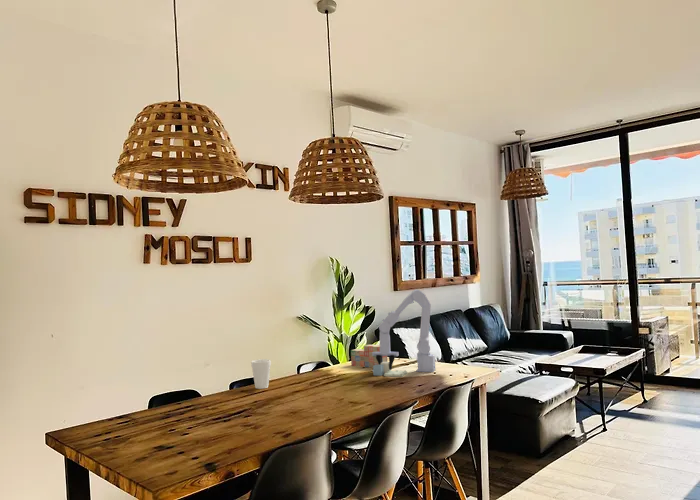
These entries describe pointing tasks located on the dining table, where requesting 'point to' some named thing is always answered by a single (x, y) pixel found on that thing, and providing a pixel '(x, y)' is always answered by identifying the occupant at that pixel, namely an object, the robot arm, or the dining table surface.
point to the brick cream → (386, 366)
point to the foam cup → (261, 372)
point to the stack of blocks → (366, 356)
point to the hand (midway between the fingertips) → (386, 369)
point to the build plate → (395, 373)
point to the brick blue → (378, 370)
